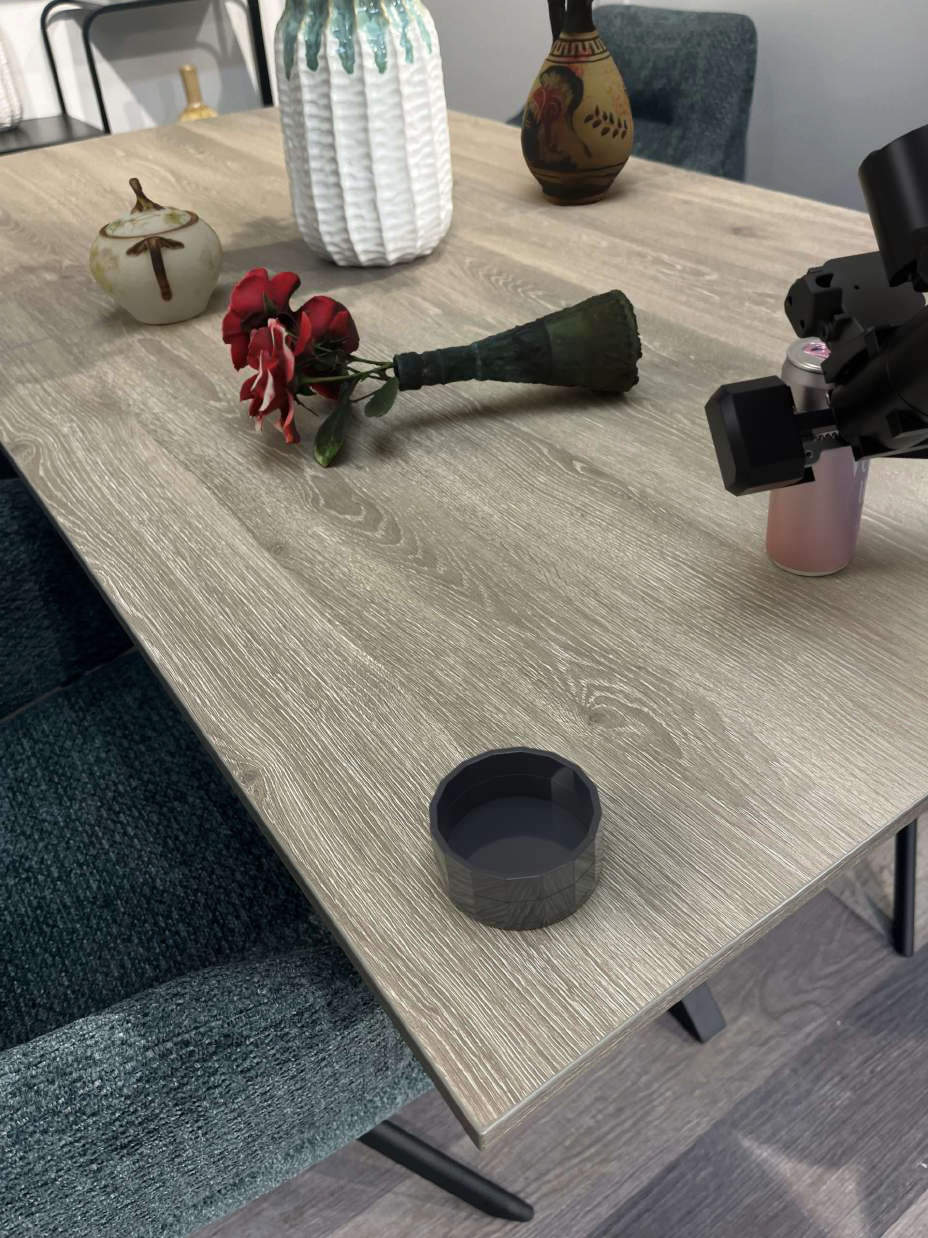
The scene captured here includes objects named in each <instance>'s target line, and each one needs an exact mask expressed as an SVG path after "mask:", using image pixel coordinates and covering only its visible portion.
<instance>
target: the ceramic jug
mask: <svg viewBox="0 0 928 1238" xmlns="http://www.w3.org/2000/svg"><path fill="white" fill-rule="evenodd" d="M546 1H547V7H548V18H549V24H550V31H551V37H552V41H551V42H552V43H551V47H550V50H549V53H548V54H547V57H546V58H544V59H543V62H542V64H541V66H540V69H539V70H538V72H537V74H536V76H535V79H534V81H533V83H532V85H531V88H530V90H529V93H528V95H527V99H526V102H525V106H524V110H523V115H522V116H523V117H522V120H521V129H520V130H521V132H520V146H521V151H522V157H523V159H524V162H525V164H526V166H527V168H528V170H529V172H530V174H531V175H532V176H533V177H534V179H535V180H536V181H537V183H538V184H539V185H540V187H541V189H542V190H541V194H542V198H543V199H544V200H546V201H548V202H550V203H552V204H554V205H557V206H570V205H572V206H573V205H577V206H584V205H589V204H595V203H597V202H598V201H600V200H603V199H605V198H607V197H608V195H609V190H610V188H611V186H612V185H613V183H614V181H615V180H616V179H617V178H618V176H619V174H620V173H621V172H622V171H623V169H624V168H625V166H626V164H627V162H628V161H629V159H630V156H631V153H632V149H633V144H634V143H633V142H634V131H635V130H634V117H633V111H632V104H631V100H630V98H629V97H630V96H629V94H628V93H629V92H628V89H627V86H626V84H625V82H624V79H623V76H622V75H621V73H620V71H619V68H618V66H617V65H616V63H615V61H614V59H613V57H612V55H611V52H610V51H609V49H608V47H607V46H606V45H605V43H604V41H603V40H602V38H601V36H600V33H599V32H598V29H597V28H596V26H595V24H594V21H593V2H594V0H546Z"/></svg>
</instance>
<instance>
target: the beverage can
mask: <svg viewBox="0 0 928 1238" xmlns="http://www.w3.org/2000/svg"><path fill="white" fill-rule="evenodd" d="M785 354H786V356H785V359H784V361H783V362H782V365H781V372H780V379H781V380H782V381H784V382H785V383H786V384H787V386H790V387H791V391H792V394H793V398H794V402H795V405H796V409H797V412H802V411H807V412H812V411H817V410H822V409H828V408H829V407H828V405H827V404H826V400H825V393H826V392H827V391H829V390H831V389H835V387H834V383H830V384H826V383H825V380H824V376H823V373H822V369H821V365H820V364H821V363H822V362H823V361H824V360H825V359H826V358H827V357H828V356H830V355H831V354H832V352H831V351H830V350H829V349H828V348H827V347H826V345H825V343H824V342H821V340H820V339H819V338H818V337H810V338H804V339H800V338H798V339H796V340H794V341H792V342H791V343H790V344H789V345H788V347H787V348H786V353H785ZM833 432H836V433H837V435H838V430H837V431H831V432H826V433H821V434H823V435H824V437H825V435H826V434H827V433H829V434H830V435H831V434H832V433H833ZM821 434H816V435H813V437H814V436H817V437H818V439H819V436H820V435H821ZM870 465H871V459H868V460H863V461H858V462H855V460H854V456H853V453H852V449H851V447H850V448H845V449H840V450H835V451H829V452H824V453H821V455H820V459H819V461H818V462H817V463H816V464H815V465H814V466H812V469H813V473H814V476H815V481H814V482H810V483H805V484H800V485H795V486H790V487H785V488H780V489H774V490H769V498H768V500H769V501H768V508H767V509H768V511H767V520H766V530H765V531H766V532H765V542H764V547H765V550H766V553H767V555H768V556H769V558H770V560H771V561H772V562H773V563H774V564H775V565H776V566H778V567H779V568H780V569H782V570H784V571H785V572H788V573H791V574H794V575H798V576H802V577H803V576H805V577H822V576H829V575H832V574H835V573H837V572H839V571H841V570H842V569H844V568H845V567H846V566H847V565H848V564H849V563H850V562H851V561H852V560H853V559H854V557H855V555H856V552H857V545H858V539H859V533H860V527H861V521H862V515H863V514H862V513H863V508H864V502H865V496H866V488H867V483H868V477H869V472H870V471H869V470H870Z"/></svg>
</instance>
